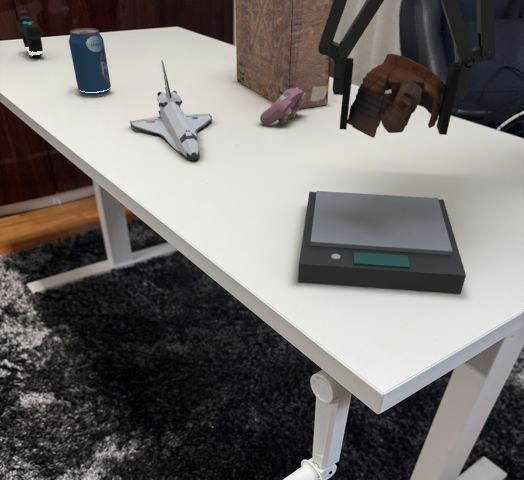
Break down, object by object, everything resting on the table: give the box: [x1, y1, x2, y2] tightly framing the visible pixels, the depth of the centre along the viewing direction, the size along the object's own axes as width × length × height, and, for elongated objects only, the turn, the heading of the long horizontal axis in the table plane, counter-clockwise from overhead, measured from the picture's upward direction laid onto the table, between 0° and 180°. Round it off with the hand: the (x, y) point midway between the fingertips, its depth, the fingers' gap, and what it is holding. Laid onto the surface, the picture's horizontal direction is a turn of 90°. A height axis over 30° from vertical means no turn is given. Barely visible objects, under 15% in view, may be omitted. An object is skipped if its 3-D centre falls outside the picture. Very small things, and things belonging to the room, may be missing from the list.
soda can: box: [68, 27, 112, 98], centre depth 114 cm, size 7×7×12 cm
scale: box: [297, 190, 467, 295], centre depth 67 cm, size 18×19×3 cm
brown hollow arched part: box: [347, 53, 446, 138], centre depth 58 cm, size 12×10×8 cm
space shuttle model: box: [129, 59, 213, 161], centre depth 94 cm, size 16×25×10 cm, turn 18°
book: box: [234, 0, 333, 110], centre depth 109 cm, size 25×9×30 cm, turn 27°
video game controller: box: [259, 87, 307, 126], centre depth 103 cm, size 10×5×7 cm, turn 150°
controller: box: [16, 10, 44, 57], centre depth 140 cm, size 4×12×10 cm, turn 31°
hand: (391, 128), depth 60 cm, fingers closed on brown hollow arched part, 10 cm apart
